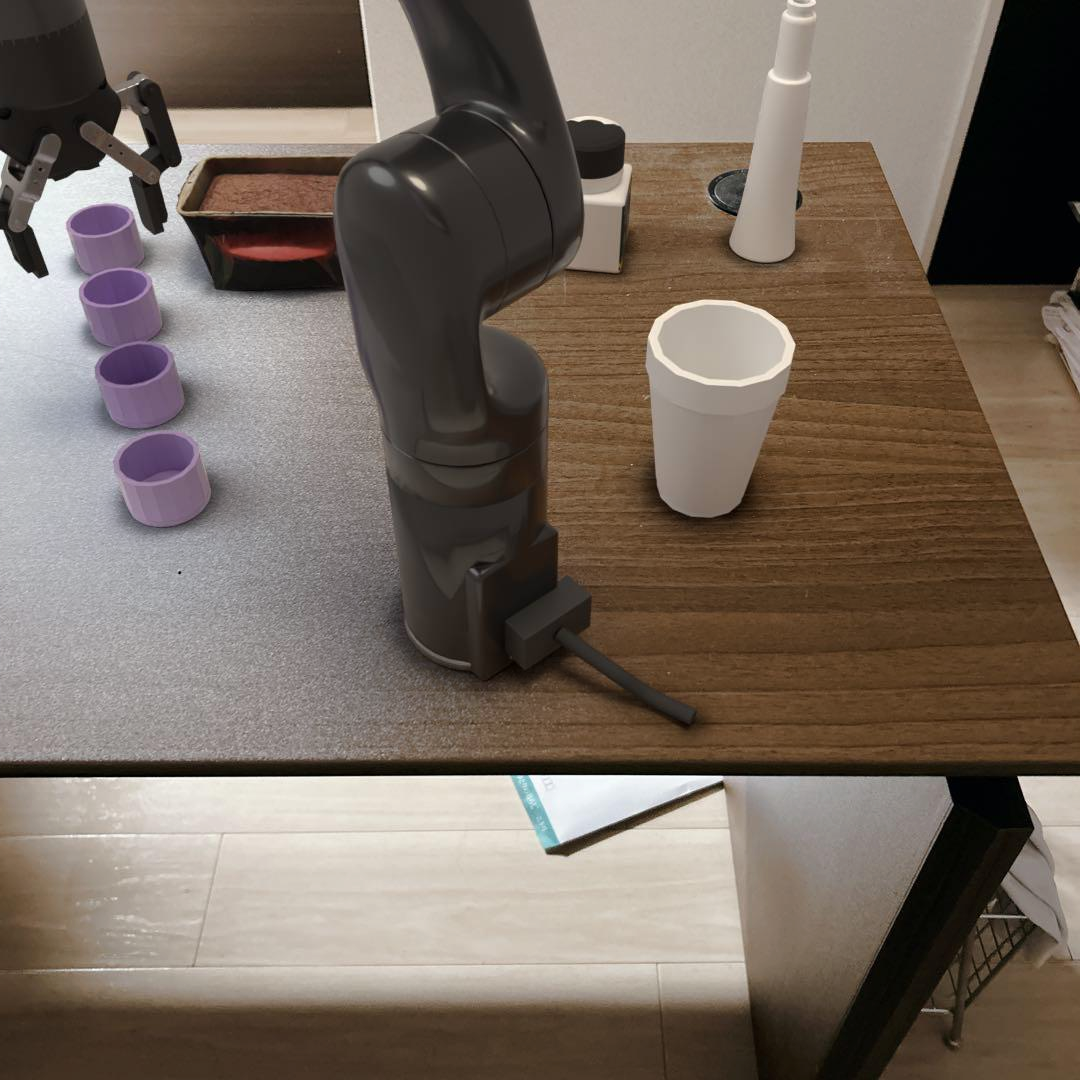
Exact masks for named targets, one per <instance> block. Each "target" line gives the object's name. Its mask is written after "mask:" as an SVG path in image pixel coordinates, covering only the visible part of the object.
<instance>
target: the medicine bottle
mask: <svg viewBox="0 0 1080 1080" xmlns="http://www.w3.org/2000/svg"><path fill="white" fill-rule="evenodd" d="M566 123H567V126H568V129H569V133H570V136H571V140H572V143H573V147H574V151H575V155H576V159H577V163H578V168H579V172H580V177H581V183H582V189H583V197H584V212H585V218H584V230H583V237H582V241H581V244H580V247H579V250H578V252H577V253H576V255H575V257H574V259H573V260H572V262H571V263H570V264H569V265H568V266H567V267H566V268H565V269H564V270H575V271H576V270H577V271H585V272H598V273H610V274H619V273H620V272H621V271H622V266H623V261H624V255H625V250H626V245H627V239H628V235H629V226H630V211H631V198H632V196H631V195H632V183H633V182H632V180H633V166H632V164H630V163H625V155H626V154H625V153H626V152H625V151H626V132H625V130H624V128H623V127H622V126H621V125H620V124H619V123H617V122H616V121H614V120H612V119H610V118H606V117H602V116H596V115H583V116H577V117H572V118H570V119H566Z"/></svg>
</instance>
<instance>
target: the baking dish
mask: <svg viewBox="0 0 1080 1080" xmlns="http://www.w3.org/2000/svg"><path fill="white" fill-rule="evenodd" d="M356 154H357V153H354V154H351V153H350V154H343V153H342V154H341V153H340V154H266V155H263V154H262V155H260V154H237V155H233V154H232V155H225V154H224V155H223V154H222V155H220V154H219V155H213V156H210V155H209V156H208V157H207V156H206V158H202V159H201V160H200V161H199V162H198V163H197V164H196V165H194V166H193V167H192V169H191V170H189V172H188V176H187V178H186V181H185V182H184V183H183V185H182V186H181V187H180V192H179V193H178V194H177V199H178V200H177V203H176V206H175V209H176V212H177V213H178V214H179V215H180V216H181V218H182V219H183V221H184V222H185V224H186V226H187V228H188V230H189V231H190V233H191V235H192V236H193V238H194V240H195V242H196V245H197V248H198V250H199V253H200V254H201V256H202V259H203V261H204V264H205V266H206V268H207V271H208V273H209V275H210V278H211V280H212V282H213V287H214V289H215V290H222V291H258V290H259V291H261V290H280V289H281V290H282V289H283V290H284V289H302V288H303V289H305V288H318V287H319V288H320V287H335V286H343V285H344V280H343V275H342V271H341V266H340V262H339V256H338V251H337V245H336V240H335V232H334V223H333V198H334V191H335V186H336V182H337V179H338V176H339V174H340V172H341V170H342V168H343V166H344V165H345V164H346V163H347V162H348V160H349V159H350V158H352V157H353V156H355V155H356Z"/></svg>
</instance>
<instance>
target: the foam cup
mask: <svg viewBox="0 0 1080 1080" xmlns="http://www.w3.org/2000/svg"><path fill="white" fill-rule="evenodd" d="M646 343H647V344H646V355H645V364H644V365H645V366H644V367H645V369H646V373H647V376H648V380H649V381H648V382H649V393H650V396H649V397H650V409H651V411H650V412H651V424H652V438H653V440H652V441H653V453H654V455H653V456H654V469H655V479H656V487H657V490H658V494H659V496H660V499H661V500H662V501H663V502H665V503H666V504H667V506H668V507H670V508H671V509H672V510H674V511H676V512H679V513H681V514H684V515H686V516H689V517H692V518H693V517H694V518H695V517H696V518H708V519H709V518H714V517H718V516H722V515H725V514H729V513H730V512H731V511H732V510H734V509H735V508H736V507H737V506H739V505H740V504H741V503H742V499H743V497H744V495H745V492H746V491H747V487H748V484H749V481H750V479H751V476H752V474H753V471H754V468H755V465H756V463H757V460H758V458H759V454H760V452H761V449H762V447H763V444H764V441H765V438H766V436H767V433H768V430H769V427H770V425H771V423H772V419H773V417H774V415H775V411H776V409H777V406H778V403H779V401H780V397H782V396H783V395H784V394H785V393H786V389H787V385H788V381H789V378H790V374H791V369H792V364H793V359H794V355H795V349H796V343H795V340H794V338H793V337H792V335H791V333H790V330H789V328H788V327H787V325H786V324H784V323H783V322H782V321H780V320H779V319H778V318H776V317H774V316H773V315H772V314H770V313H769V312H767V311H766V310H765V309H763V308H759V307H756V306H752V305H749V304H746V303H743V302H739V301H736V300H723V299H699V300H694V301H690V302H685V303H681V304H677V305H674V306H673V307H671V308H670V309H668V310H667V311H666V312H664V313H663V314H661V315H659V316H658V317H656V318H655V319H654V321H653V324H652V326H651V329H650V332H649V334H648V336H647V342H646Z"/></svg>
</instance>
